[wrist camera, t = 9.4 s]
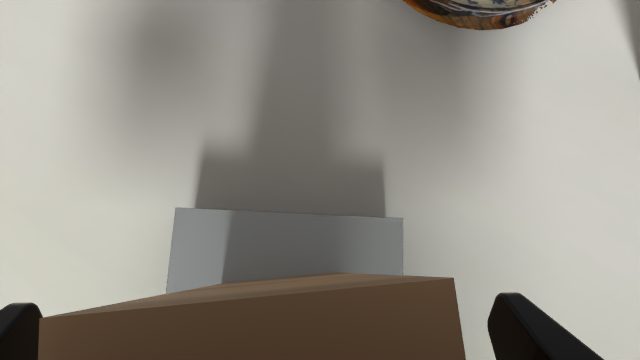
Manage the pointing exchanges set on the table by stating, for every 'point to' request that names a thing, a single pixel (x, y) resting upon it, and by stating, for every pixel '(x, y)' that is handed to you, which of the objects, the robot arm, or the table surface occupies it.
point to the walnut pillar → (270, 322)
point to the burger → (478, 12)
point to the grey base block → (278, 246)
